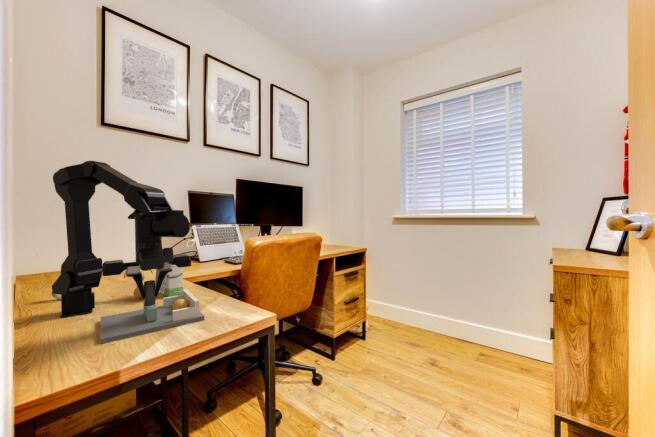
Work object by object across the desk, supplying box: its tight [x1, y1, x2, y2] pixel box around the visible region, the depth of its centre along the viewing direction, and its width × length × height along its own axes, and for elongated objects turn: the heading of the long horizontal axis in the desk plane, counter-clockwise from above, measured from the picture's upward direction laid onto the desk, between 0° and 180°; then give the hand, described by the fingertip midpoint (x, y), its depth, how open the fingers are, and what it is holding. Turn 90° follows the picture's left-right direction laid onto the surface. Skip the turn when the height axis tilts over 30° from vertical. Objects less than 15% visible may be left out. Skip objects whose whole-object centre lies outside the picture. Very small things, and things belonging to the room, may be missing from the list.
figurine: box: [123, 269, 154, 299], centre depth 91 cm, size 8×6×12 cm
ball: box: [172, 299, 189, 310], centre depth 77 cm, size 4×4×4 cm
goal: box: [162, 288, 200, 322], centre depth 77 cm, size 6×14×4 cm, turn 39°
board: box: [100, 305, 205, 344], centre depth 72 cm, size 21×16×1 cm
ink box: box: [159, 265, 184, 297], centre depth 96 cm, size 9×5×12 cm, turn 48°
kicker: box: [142, 279, 158, 322], centre depth 72 cm, size 2×8×9 cm, turn 39°
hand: (149, 297), depth 72 cm, fingers closed on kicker, 2 cm apart
